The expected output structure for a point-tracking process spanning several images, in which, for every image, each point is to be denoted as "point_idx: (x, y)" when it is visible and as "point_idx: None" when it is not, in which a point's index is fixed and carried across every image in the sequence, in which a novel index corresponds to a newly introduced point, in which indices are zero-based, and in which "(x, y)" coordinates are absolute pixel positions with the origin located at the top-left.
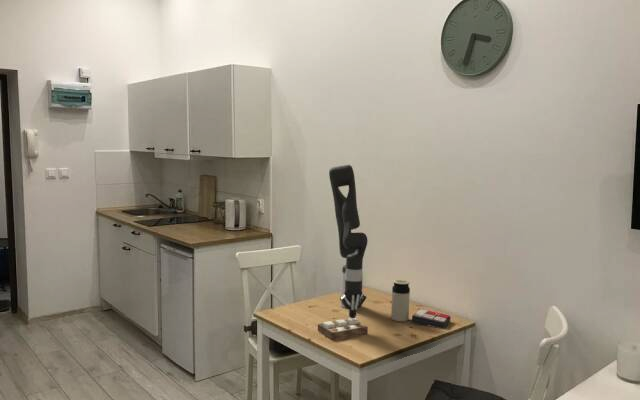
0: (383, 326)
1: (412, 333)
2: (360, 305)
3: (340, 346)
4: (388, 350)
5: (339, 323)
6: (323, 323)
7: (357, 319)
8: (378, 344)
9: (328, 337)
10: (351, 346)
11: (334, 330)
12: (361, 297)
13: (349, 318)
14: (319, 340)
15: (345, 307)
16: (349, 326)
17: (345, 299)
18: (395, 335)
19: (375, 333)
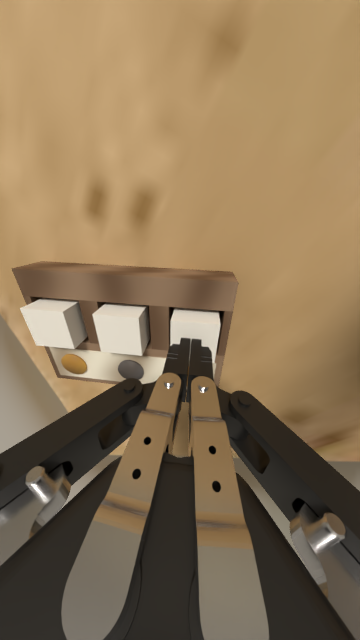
0: (342, 349)
1: (347, 431)
2: (245, 442)
3: (85, 398)
4: (183, 453)
5: (102, 349)
6: (26, 310)
7: (213, 356)
8: (186, 429)
9: None
10: None
11: (69, 372)
12: (303, 548)
13: (184, 325)
14: (35, 344)
15: (123, 382)
16: (148, 364)
17: (51, 504)
18: (284, 418)
19: (243, 382)
